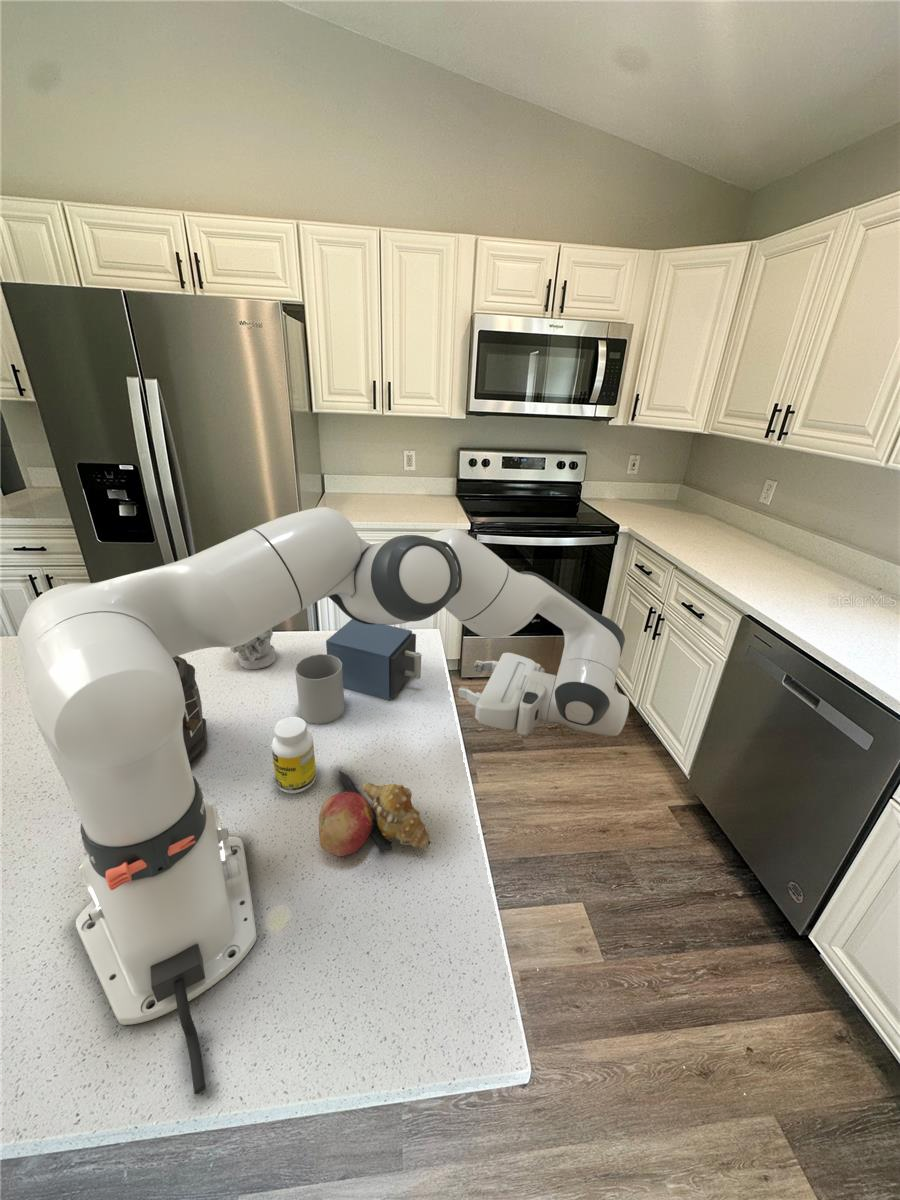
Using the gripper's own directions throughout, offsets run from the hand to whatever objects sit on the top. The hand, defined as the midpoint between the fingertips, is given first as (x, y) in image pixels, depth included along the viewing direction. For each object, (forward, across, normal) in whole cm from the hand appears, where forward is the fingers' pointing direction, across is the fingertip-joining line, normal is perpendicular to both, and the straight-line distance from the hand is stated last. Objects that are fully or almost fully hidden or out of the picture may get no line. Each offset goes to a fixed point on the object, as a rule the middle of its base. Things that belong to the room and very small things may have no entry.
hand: (467, 677), depth 96 cm
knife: (+6, +31, +6) cm, 32 cm away
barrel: (+44, +34, +6) cm, 56 cm away
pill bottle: (+19, +30, +6) cm, 36 cm away
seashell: (+5, +33, +5) cm, 34 cm away
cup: (+25, +13, +6) cm, 29 cm away
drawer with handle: (+18, 0, +5) cm, 19 cm away
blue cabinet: (+21, 0, +6) cm, 22 cm away
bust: (+47, -4, +7) cm, 48 cm away
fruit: (+8, +33, +2) cm, 34 cm away
